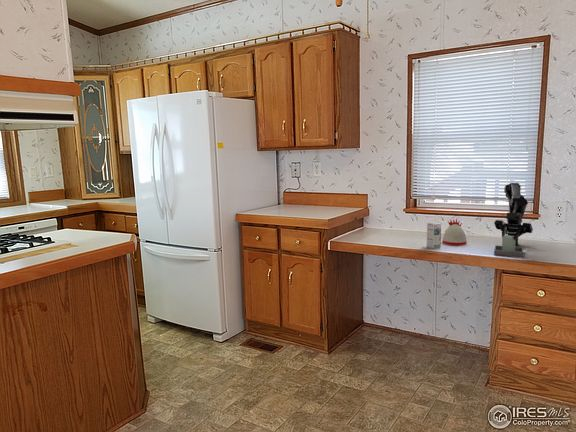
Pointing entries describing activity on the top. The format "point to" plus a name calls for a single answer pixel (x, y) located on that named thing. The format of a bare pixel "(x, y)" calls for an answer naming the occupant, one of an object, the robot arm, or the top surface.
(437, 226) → the syrup box
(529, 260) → the top surface
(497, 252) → the tray
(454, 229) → the cream dome with spikes
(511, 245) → the sage block
